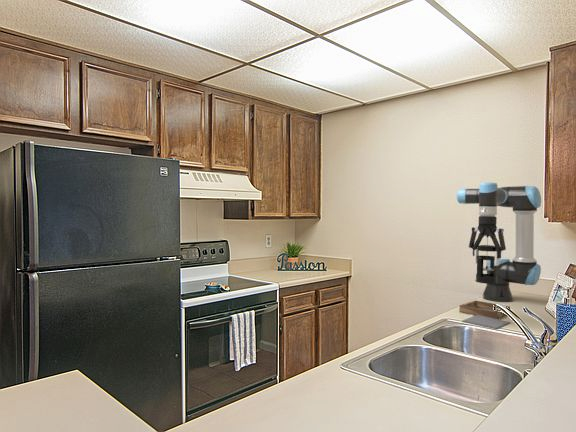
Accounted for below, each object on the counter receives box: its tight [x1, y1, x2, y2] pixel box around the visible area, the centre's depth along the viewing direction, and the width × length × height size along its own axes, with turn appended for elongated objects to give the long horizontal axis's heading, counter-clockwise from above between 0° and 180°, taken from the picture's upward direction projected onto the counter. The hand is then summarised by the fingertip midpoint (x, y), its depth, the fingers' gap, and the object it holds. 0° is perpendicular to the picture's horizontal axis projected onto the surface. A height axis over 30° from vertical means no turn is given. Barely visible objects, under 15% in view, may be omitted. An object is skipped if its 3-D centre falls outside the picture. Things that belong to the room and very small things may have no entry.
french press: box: [474, 233, 498, 285], centre depth 192 cm, size 12×9×23 cm
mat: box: [461, 315, 511, 330], centre depth 189 cm, size 15×15×1 cm
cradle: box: [459, 300, 511, 319], centre depth 206 cm, size 17×17×4 cm
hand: (486, 264), depth 192 cm, fingers closed on french press, 9 cm apart
